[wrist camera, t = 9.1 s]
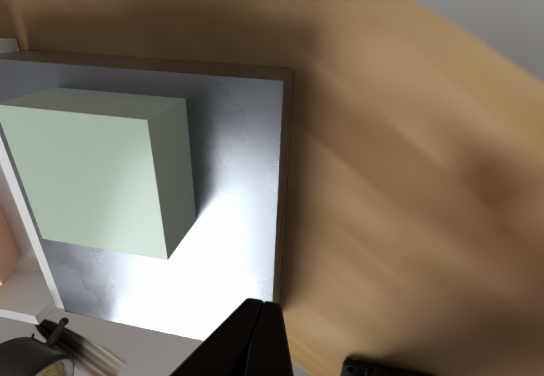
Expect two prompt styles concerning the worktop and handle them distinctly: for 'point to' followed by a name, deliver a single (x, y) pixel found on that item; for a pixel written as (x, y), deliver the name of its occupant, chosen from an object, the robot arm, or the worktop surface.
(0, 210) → the terracotta tile
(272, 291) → the steel plate
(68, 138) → the sage tile
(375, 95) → the worktop surface
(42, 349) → the alarm clock
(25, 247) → the box
